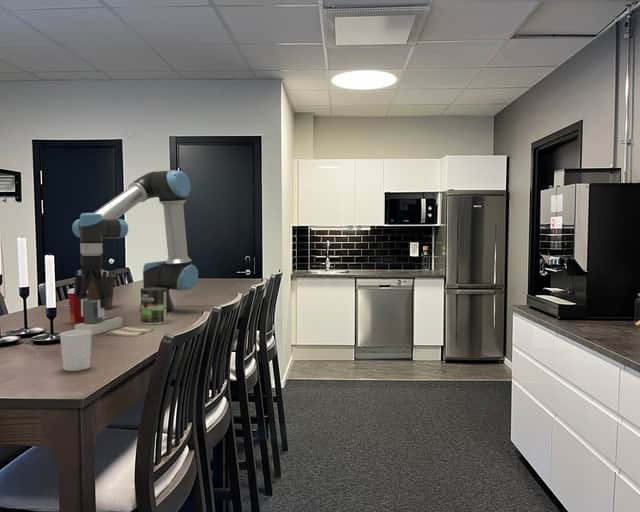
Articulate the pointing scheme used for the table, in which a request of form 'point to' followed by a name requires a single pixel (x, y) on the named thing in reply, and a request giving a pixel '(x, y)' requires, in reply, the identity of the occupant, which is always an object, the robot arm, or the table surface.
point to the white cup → (76, 349)
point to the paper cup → (75, 308)
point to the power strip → (101, 325)
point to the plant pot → (93, 293)
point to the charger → (91, 312)
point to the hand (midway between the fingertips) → (92, 316)
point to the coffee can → (153, 305)
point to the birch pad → (130, 331)
